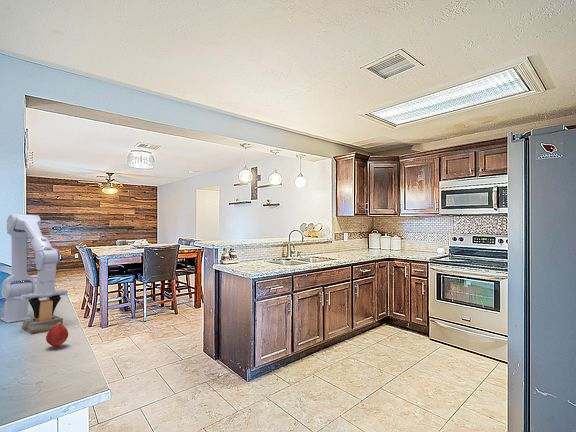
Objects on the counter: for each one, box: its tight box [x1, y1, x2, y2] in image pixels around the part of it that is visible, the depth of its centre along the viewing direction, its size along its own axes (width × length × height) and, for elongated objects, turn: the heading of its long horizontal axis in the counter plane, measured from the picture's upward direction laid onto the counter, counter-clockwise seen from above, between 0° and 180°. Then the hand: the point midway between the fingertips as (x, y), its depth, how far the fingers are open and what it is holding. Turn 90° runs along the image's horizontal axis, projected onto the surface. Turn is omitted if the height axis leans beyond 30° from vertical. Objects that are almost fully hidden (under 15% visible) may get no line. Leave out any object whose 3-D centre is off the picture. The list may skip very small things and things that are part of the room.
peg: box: [35, 299, 53, 322], centre depth 122 cm, size 4×4×8 cm
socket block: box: [21, 314, 65, 335], centre depth 122 cm, size 11×10×4 cm
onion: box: [45, 322, 69, 348], centre depth 103 cm, size 6×6×8 cm
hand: (43, 316), depth 122 cm, fingers closed on peg, 4 cm apart
